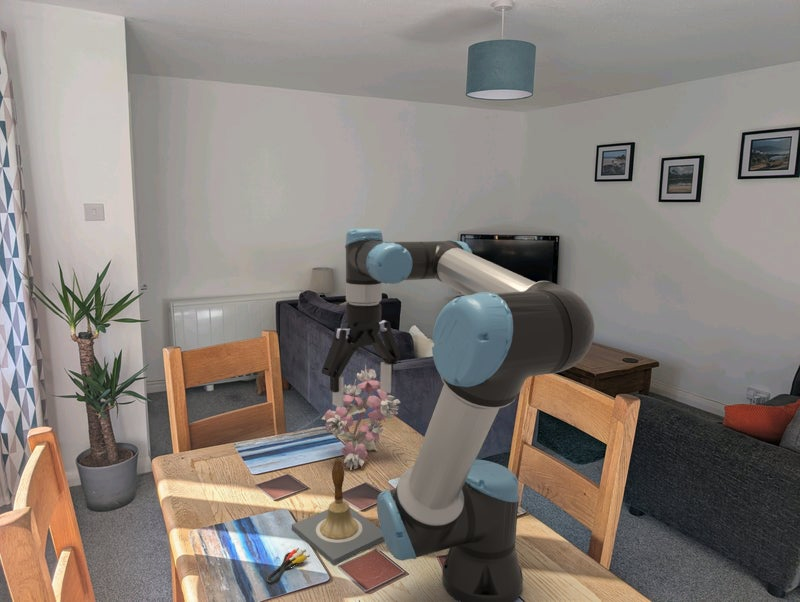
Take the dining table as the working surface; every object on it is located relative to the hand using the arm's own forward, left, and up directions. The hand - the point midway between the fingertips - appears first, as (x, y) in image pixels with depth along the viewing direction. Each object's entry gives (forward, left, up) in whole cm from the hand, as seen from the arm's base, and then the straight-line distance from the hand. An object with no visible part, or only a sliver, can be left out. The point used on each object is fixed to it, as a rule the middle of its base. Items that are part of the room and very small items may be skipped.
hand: (362, 398), depth 123 cm
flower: (+25, -18, -29) cm, 42 cm away
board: (-1, +7, -29) cm, 30 cm away
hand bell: (-1, +7, -28) cm, 29 cm away
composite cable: (-4, +22, -29) cm, 37 cm away
